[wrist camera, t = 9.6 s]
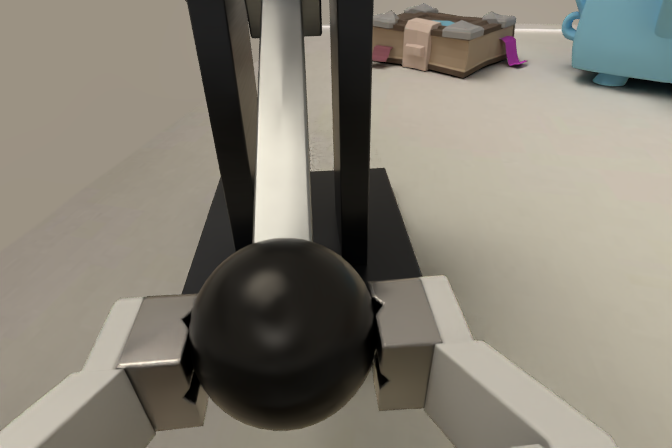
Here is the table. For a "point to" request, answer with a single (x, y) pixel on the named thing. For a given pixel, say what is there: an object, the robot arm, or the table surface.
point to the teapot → (622, 39)
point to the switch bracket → (326, 186)
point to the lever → (282, 265)
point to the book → (443, 40)
